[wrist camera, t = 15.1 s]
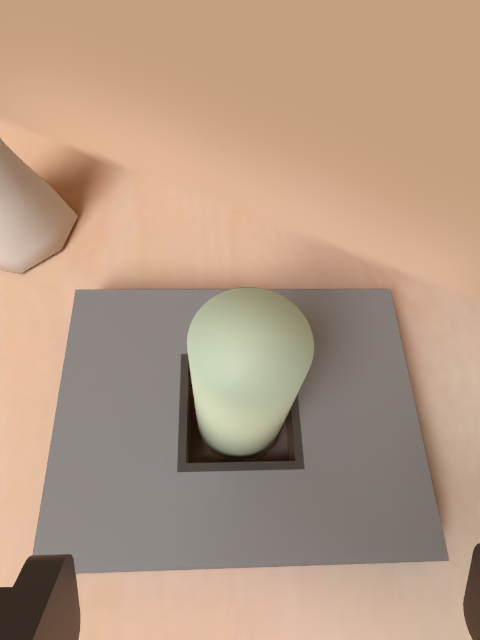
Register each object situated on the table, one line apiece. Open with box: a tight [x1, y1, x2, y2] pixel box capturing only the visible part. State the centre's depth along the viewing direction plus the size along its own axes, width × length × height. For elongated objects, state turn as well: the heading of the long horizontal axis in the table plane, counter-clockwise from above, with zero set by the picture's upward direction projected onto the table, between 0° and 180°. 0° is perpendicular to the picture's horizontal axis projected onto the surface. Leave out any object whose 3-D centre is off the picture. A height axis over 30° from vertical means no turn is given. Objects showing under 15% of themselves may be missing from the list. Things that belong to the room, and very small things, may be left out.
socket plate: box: [33, 289, 449, 573], centre depth 24 cm, size 18×14×2 cm
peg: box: [187, 287, 314, 462], centre depth 20 cm, size 4×4×10 cm
